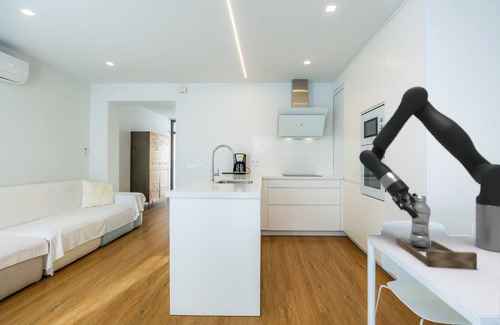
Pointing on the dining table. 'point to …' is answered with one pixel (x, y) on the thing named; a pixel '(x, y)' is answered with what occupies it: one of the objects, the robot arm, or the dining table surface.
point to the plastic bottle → (420, 223)
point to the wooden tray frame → (441, 256)
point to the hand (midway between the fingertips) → (422, 216)
